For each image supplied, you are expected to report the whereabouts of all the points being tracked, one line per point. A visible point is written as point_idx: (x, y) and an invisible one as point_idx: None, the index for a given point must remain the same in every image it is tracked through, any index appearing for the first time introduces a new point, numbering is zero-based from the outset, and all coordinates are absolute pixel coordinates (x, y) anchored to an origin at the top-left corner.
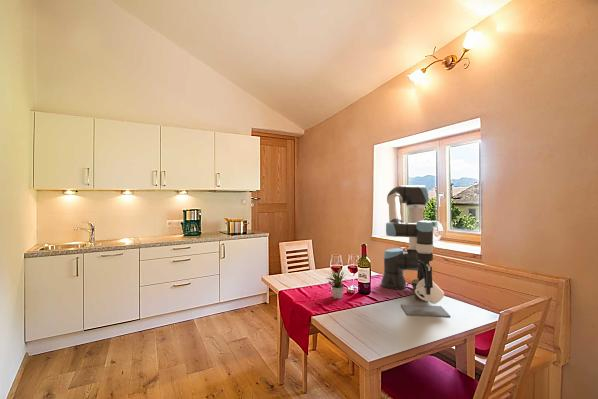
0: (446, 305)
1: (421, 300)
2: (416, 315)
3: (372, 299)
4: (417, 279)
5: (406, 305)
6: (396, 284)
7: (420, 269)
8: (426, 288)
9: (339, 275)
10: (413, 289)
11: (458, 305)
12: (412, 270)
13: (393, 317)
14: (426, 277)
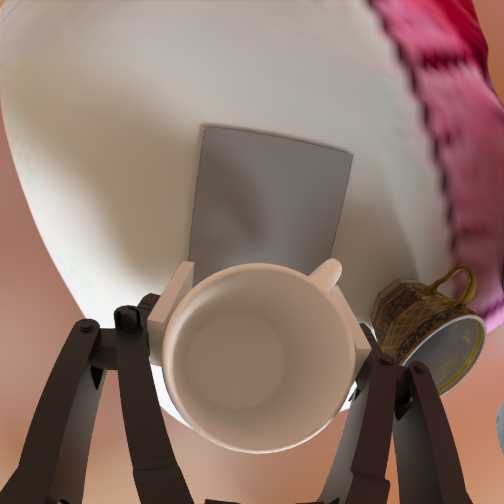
0: None
1: (378, 299)
2: (198, 180)
3: (432, 53)
4: (477, 356)
5: (333, 181)
6: None
7: (342, 496)
8: (147, 325)
9: None
10: (440, 296)
11: None
12: None
13: (185, 50)
14: (53, 400)
